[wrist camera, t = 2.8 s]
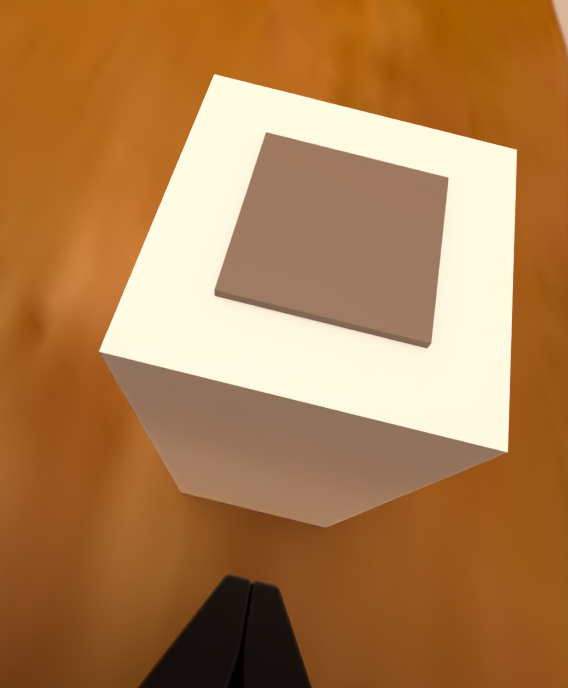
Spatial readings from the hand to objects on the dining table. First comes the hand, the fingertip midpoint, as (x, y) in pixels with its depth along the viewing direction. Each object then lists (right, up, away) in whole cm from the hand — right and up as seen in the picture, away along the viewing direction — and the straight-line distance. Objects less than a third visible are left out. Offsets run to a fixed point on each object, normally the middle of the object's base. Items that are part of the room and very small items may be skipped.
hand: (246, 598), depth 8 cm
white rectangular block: (0, +1, +10) cm, 10 cm away
